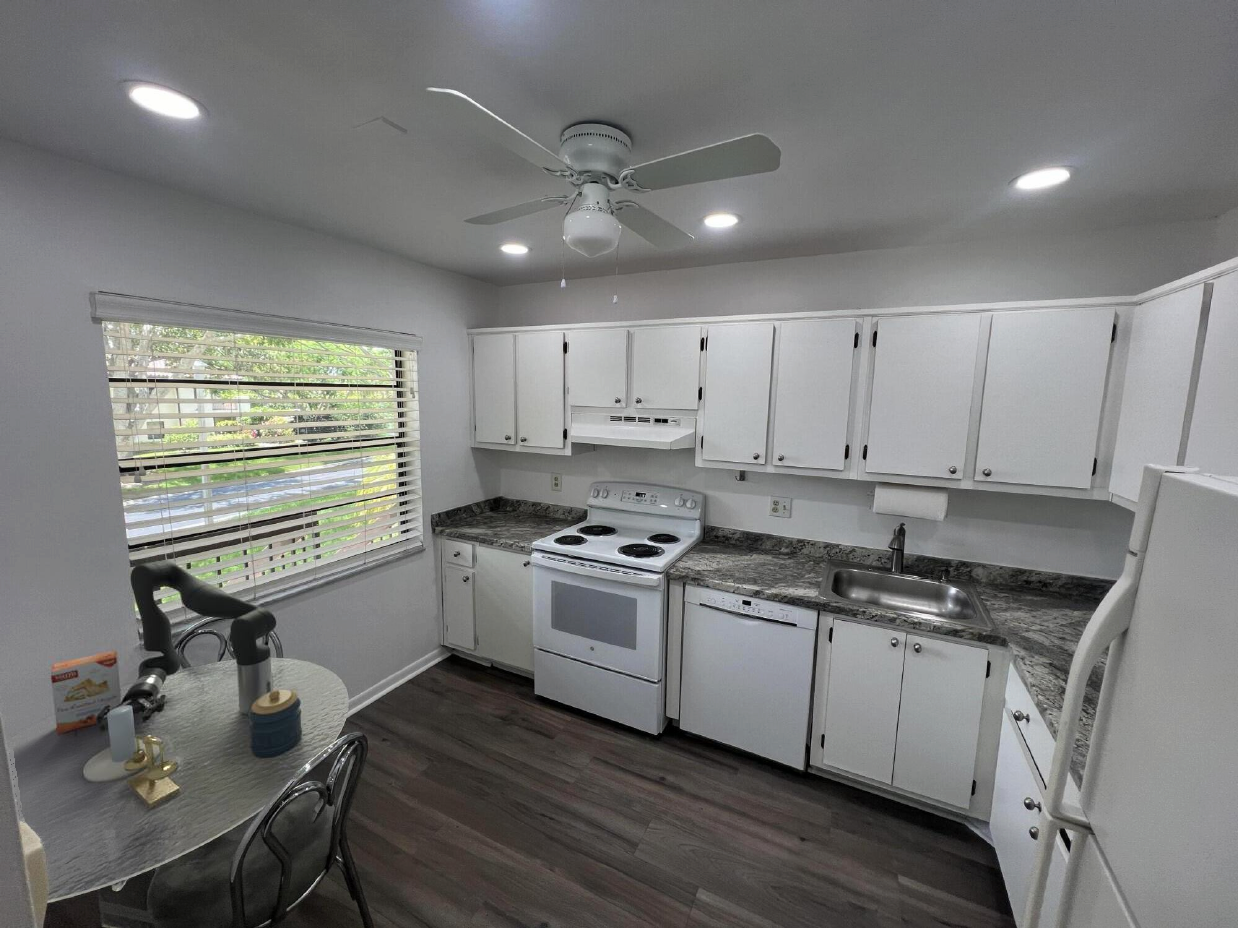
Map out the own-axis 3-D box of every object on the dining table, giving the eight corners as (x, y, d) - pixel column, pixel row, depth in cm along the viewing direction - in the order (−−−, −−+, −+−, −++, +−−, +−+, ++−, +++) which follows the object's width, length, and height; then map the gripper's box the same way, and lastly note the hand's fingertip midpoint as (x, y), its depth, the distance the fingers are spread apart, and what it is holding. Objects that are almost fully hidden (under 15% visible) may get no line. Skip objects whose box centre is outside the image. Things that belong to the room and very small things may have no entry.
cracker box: (57, 735, 149) (49, 671, 146) (59, 725, 153) (52, 663, 150) (122, 716, 159) (116, 656, 156) (123, 707, 163) (117, 648, 160)
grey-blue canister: (139, 747, 144) (135, 703, 142) (133, 758, 140) (128, 713, 138) (115, 752, 142) (111, 708, 140) (108, 764, 137) (103, 718, 135)
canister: (312, 733, 155) (310, 682, 153) (275, 763, 143) (272, 707, 140) (278, 725, 158) (276, 675, 155) (239, 753, 145) (235, 699, 143)
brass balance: (185, 797, 130) (180, 739, 127) (155, 814, 124) (149, 753, 122) (150, 765, 140) (145, 710, 137) (121, 779, 134) (115, 722, 132)
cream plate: (170, 734, 152) (169, 730, 151) (152, 770, 138) (152, 765, 138) (98, 751, 144) (97, 746, 144) (72, 790, 130) (71, 785, 130)
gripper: (110, 687, 151) (87, 719, 137) (172, 676, 158) (155, 705, 144) (113, 709, 152) (90, 743, 138) (173, 697, 159) (158, 728, 145)
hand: (123, 723), depth 141 cm, fingers open, 8 cm apart
